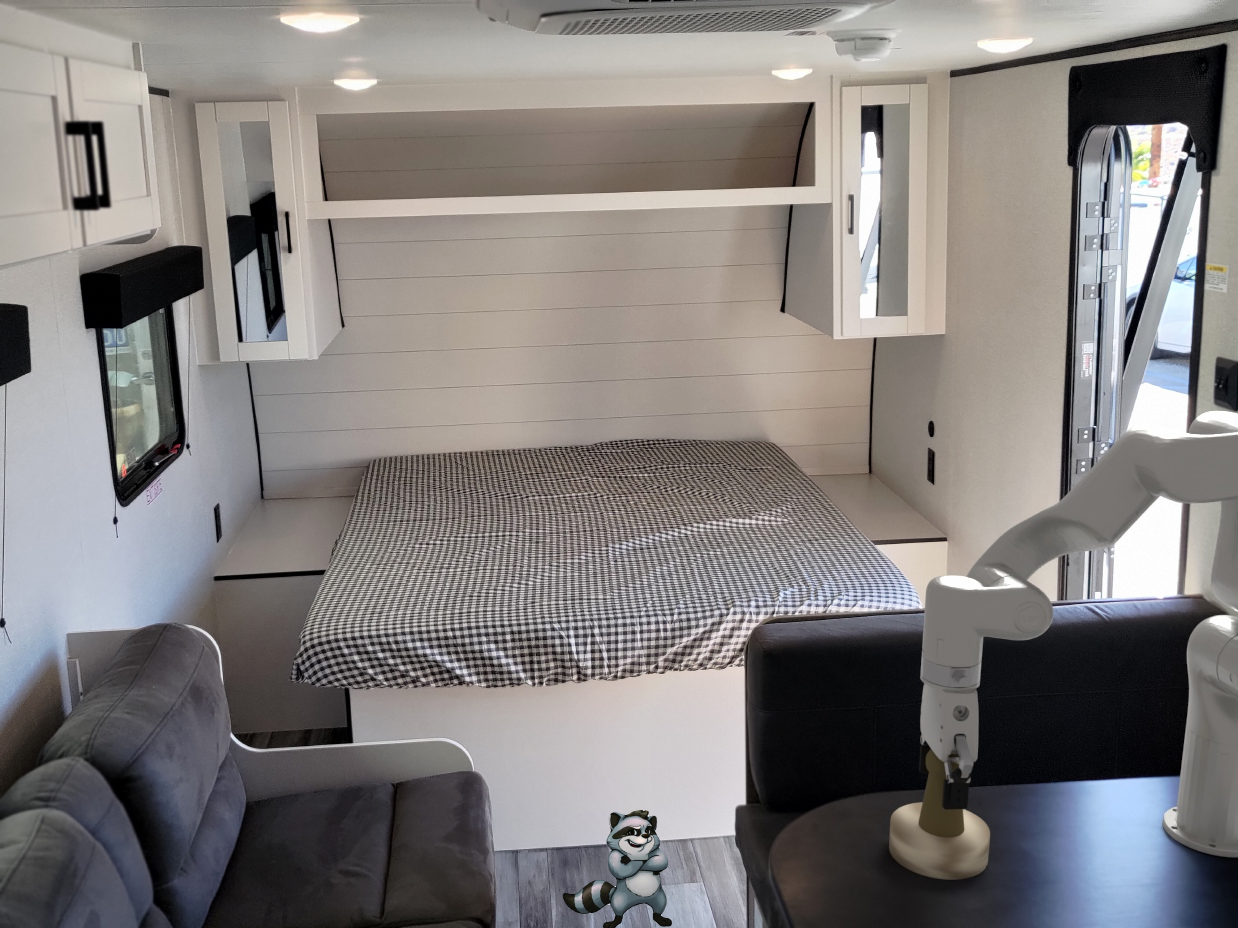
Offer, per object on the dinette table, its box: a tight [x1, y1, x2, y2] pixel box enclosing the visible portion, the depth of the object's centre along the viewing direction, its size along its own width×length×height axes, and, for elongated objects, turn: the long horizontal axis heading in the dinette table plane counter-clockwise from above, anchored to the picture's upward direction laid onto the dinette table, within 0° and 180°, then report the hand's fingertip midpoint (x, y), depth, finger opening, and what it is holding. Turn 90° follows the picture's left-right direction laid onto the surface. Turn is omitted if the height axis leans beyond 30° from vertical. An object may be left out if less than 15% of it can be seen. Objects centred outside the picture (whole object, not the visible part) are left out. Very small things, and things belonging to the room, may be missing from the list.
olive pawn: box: [919, 749, 964, 837], centre depth 155 cm, size 6×6×11 cm
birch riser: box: [888, 801, 991, 881], centre depth 156 cm, size 13×13×4 cm
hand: (942, 789), depth 155 cm, fingers open, 9 cm apart
